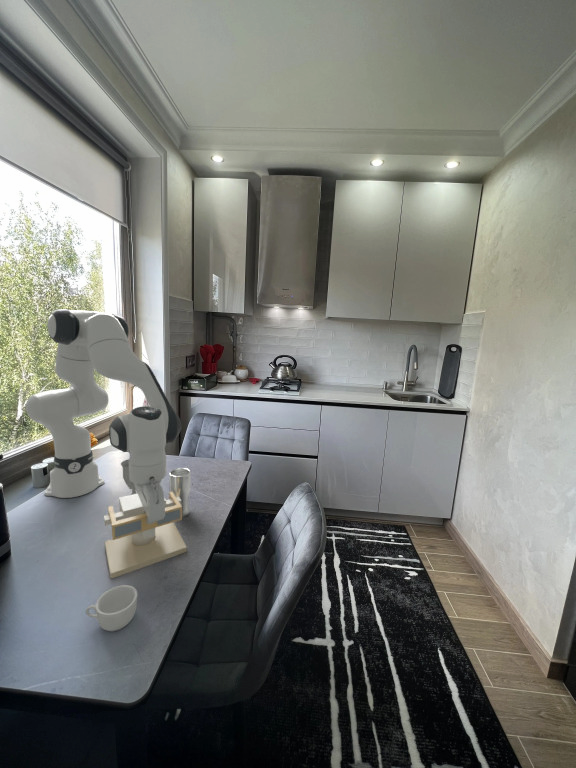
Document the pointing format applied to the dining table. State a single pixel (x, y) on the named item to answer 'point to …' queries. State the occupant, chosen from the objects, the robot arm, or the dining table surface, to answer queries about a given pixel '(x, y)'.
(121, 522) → the tan open angular frame
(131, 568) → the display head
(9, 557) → the dining table surface
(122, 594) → the teacup
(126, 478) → the chalice
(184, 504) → the beer glass
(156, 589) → the dining table surface
